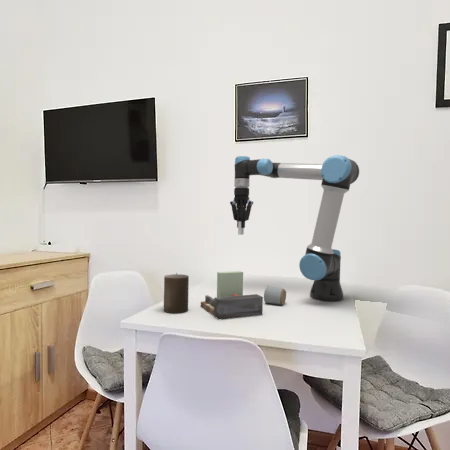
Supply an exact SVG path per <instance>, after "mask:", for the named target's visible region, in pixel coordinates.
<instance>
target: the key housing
mask: <svg viewBox="0 0 450 450" xmlns="http://www.w3.org/2000/svg"><path fill="white" fill-rule="evenodd" d="M204 299H205V300H204V301H203V300H202V301H200V308H202V309H203V308H204V310H205V311H206V310H207V311H206V312H208V313H209V312H210V313H211V314H210V313H209V314H210V315H212V314H213V315H214V316H213V315H212V316H213V317H215V318H216V317H217V318H218V319H217V318H216V319H217V320H219V319H221V320H227V319H228V320H229V318H230V319H238V318H248V317H257V316H263V309H264V307H263V305H264V303H263V301H264V296H263V295H262V296H261V295H259V294H257V293H255V294H243V295H240V296H238V295H237V294H233V295H232V296H228V297H217V296H215V297H214V298H213V297H212V296H210V295H208V294H207V295H205V298H204Z"/></svg>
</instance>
